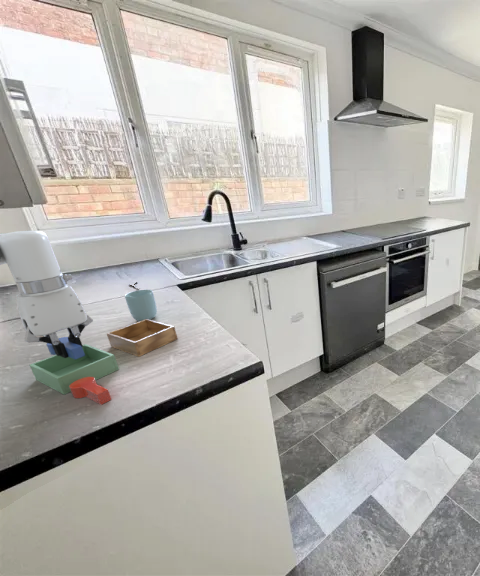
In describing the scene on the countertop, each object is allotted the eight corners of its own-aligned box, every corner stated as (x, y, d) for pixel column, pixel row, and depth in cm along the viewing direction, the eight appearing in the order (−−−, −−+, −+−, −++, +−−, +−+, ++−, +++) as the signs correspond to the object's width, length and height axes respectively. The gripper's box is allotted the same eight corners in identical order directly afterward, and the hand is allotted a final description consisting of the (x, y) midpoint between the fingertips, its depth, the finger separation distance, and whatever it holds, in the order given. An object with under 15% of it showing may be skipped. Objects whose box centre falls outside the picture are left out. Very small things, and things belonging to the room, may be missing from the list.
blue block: (91, 353, 78) (87, 343, 77) (68, 362, 74) (64, 352, 73) (69, 344, 82) (65, 335, 81) (47, 352, 78) (42, 343, 77)
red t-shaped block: (117, 396, 71) (114, 386, 70) (94, 408, 67) (90, 398, 66) (92, 384, 76) (88, 374, 75) (69, 395, 72) (65, 385, 71)
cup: (163, 313, 116) (156, 288, 113) (152, 322, 109) (144, 296, 106) (140, 315, 115) (132, 290, 112) (128, 324, 108) (119, 297, 104)
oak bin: (138, 356, 87) (134, 342, 86) (111, 346, 93) (106, 333, 91) (177, 339, 97) (174, 326, 95) (150, 331, 103) (146, 318, 101)
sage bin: (64, 394, 72) (57, 378, 71) (36, 380, 78) (29, 364, 76) (119, 369, 82) (114, 354, 80) (90, 357, 87) (85, 343, 86)
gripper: (77, 274, 80) (100, 337, 86) (-16, 294, 66) (19, 367, 72) (93, 277, 77) (115, 342, 83) (-2, 298, 63) (34, 374, 69)
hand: (70, 353), depth 78 cm, fingers closed on blue block, 2 cm apart
